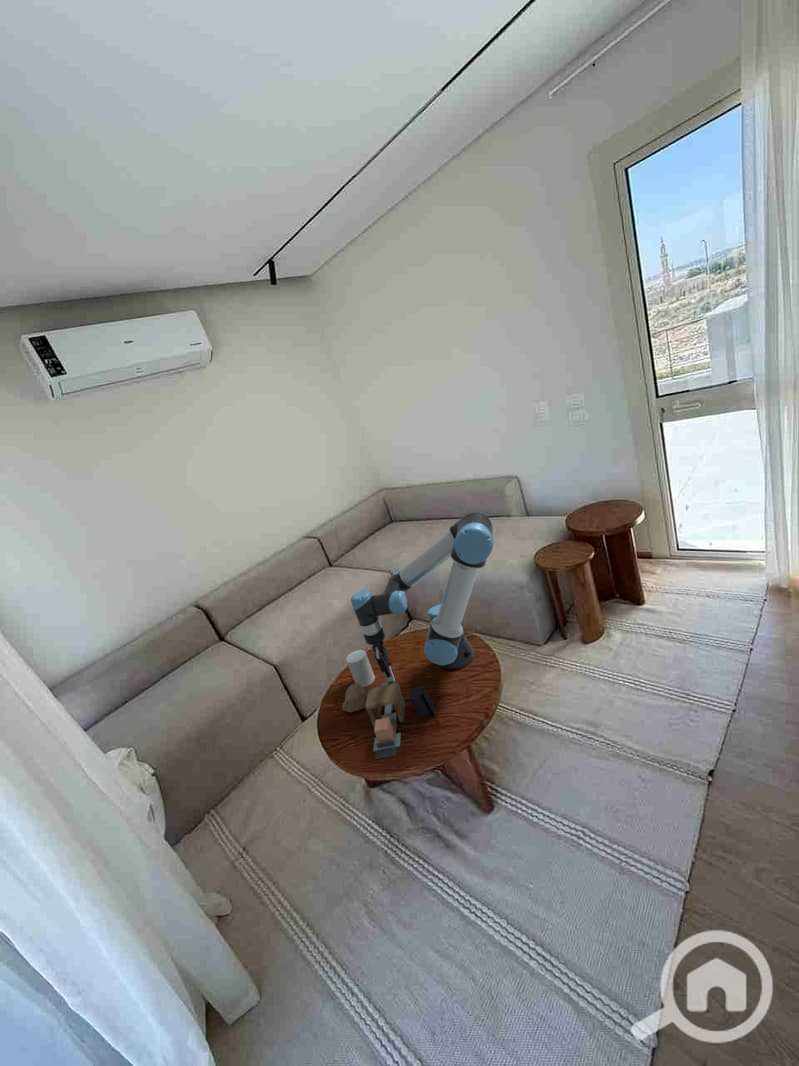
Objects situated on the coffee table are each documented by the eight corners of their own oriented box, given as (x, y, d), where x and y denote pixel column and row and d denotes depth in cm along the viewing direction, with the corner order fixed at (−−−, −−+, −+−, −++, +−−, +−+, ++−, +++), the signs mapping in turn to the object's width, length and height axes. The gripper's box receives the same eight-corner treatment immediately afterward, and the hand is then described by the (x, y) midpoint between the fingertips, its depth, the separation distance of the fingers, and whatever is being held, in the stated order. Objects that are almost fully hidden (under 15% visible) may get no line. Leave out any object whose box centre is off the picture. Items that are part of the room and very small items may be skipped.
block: (393, 728, 146) (388, 717, 145) (392, 740, 142) (387, 728, 140) (380, 731, 147) (375, 719, 145) (378, 743, 142) (374, 731, 141)
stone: (369, 717, 161) (374, 690, 161) (345, 717, 157) (349, 689, 157) (360, 703, 172) (364, 678, 172) (337, 703, 169) (341, 677, 169)
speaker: (439, 703, 153) (428, 681, 150) (436, 716, 148) (424, 693, 145) (420, 705, 156) (409, 683, 153) (416, 718, 151) (404, 695, 148)
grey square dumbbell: (398, 689, 166) (395, 680, 164) (395, 744, 141) (390, 733, 140) (383, 693, 167) (380, 683, 165) (377, 748, 142) (373, 737, 140)
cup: (372, 686, 174) (362, 661, 170) (353, 688, 176) (343, 663, 172) (376, 672, 181) (368, 648, 178) (358, 675, 183) (349, 651, 180)
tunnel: (405, 703, 159) (397, 682, 156) (404, 721, 150) (396, 700, 148) (376, 709, 160) (368, 689, 157) (373, 727, 152) (365, 706, 149)
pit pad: (397, 747, 140) (396, 747, 140) (396, 755, 137) (396, 755, 137) (376, 751, 141) (376, 751, 141) (375, 759, 138) (375, 759, 138)
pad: (400, 733, 146) (400, 732, 146) (400, 746, 141) (399, 745, 140) (375, 738, 147) (374, 737, 147) (373, 751, 142) (373, 750, 142)
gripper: (364, 623, 169) (383, 673, 176) (361, 642, 156) (381, 695, 163) (383, 618, 168) (401, 669, 175) (381, 637, 155) (400, 690, 163)
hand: (391, 681), depth 169 cm, fingers closed
